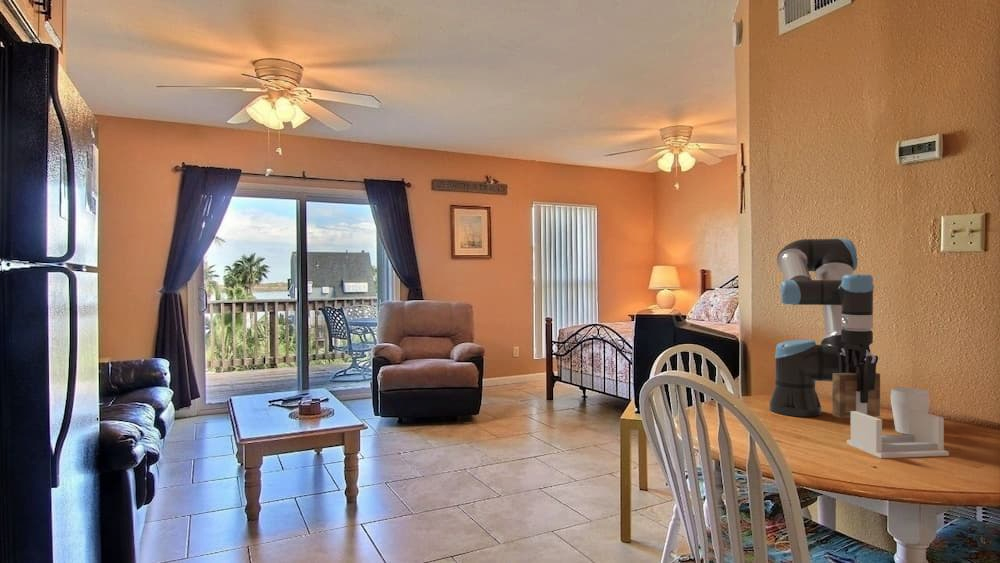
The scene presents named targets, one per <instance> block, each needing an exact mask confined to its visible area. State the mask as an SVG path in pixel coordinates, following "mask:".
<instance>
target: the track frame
mask: <svg viewBox="0 0 1000 563" xmlns="http://www.w3.org/2000/svg"><path fill="white" fill-rule="evenodd" d="M944 419H945V418H944V417H942V416H938V415H935V414H931V413H929V412H928V413H925V412H922V411H918V410H915V409H912V410H909V434H902V433H901V434H883V419H881V418H878V417H872V416H869V415H866V414H863V413H860V412H857V411H851V418H850V439H847V440H846V444H847V445H849V446H851V447H853V448H855V449H857V450H861V451H863V452H865V453H867V454H870V455H872V456H875V457H878V458H880V459H891V458H892V459H894V458H895V459H896V458H921V457H924V458H925V457H946V456H950V451H948V450H945V446H944V445H945V440H944V439H945V436H944V435H945V434H944V433H945V429H944V428H945V425H944V424H945V423H944V422H945V420H944Z"/></svg>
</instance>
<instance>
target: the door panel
mask: <svg viewBox="0 0 1000 563" xmlns="http://www.w3.org/2000/svg"><path fill="white" fill-rule="evenodd" d="M856 389H858V381H857V372H856V373H833V382H832V398H831V399H832V404H831V405H832V409H831V411H832V412H831V413H832V416H833V417H836V418H838V419H851V411H856ZM866 415H869V416H872V417H875V418H878V417H881V373H878V372H876V376H875V389H874V390H871V391H869V392H868V403H867V414H866Z"/></svg>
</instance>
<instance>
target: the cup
mask: <svg viewBox="0 0 1000 563" xmlns="http://www.w3.org/2000/svg"><path fill="white" fill-rule="evenodd" d="M890 403H891V404H890V405H891V410H892V411H891V412H892V417H893V423H894V424H893V425H894V429H895V432H897V433H899V434H901V435H902V434H909V410H912V409H915V410H918V411H922V412H925V413H929V411H930V405H931V401H930V392H929V391H928V390H925V389H921V388H914V387H900V386H899V387H891V390H890Z"/></svg>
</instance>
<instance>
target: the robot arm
mask: <svg viewBox="0 0 1000 563" xmlns="http://www.w3.org/2000/svg"><path fill="white" fill-rule="evenodd" d="M776 264H777V267H778V269H779V270H780V272H782V274H783V278H784V280H783V281H781V283H780V301H781V303H782V304H784V305H793V306H804V305H805V306H806V305H807V306H822V312H823V323H824V325H823V326H824V335H825V337H823V338H822V339H821V340H820V344H817V343H816V341H815V340H813V339H793V340H786V341H785V340H784V341H782V342H779V343H778V344H776V347H775V355H774V359H775V371H774V373H775V377H774V380H775V381H774V383H775V384H774V385H775V386H774V390H773V392H772V395H771V398H770V401H769V410H770V412H771V411H772V412H773V413H777V414H780V415H785V416H792V417H802V418H803V417H806V418H807V417H818V416H821V415H822V406H821V402H820V400H819V397H818V394H817V391H816V381H817V382H829V383H831V382H832V383H833V373H856V372H857V381H858V389H856V411H857V412H860V413H863V414H867V403H868V392H869V391H871V390H874V389H875V376H876V373H877V363H878V360H879V356H878V355H873V354H872V353H871V349H870V345H872V344H873V338H874V333H873V332H874V331H872V329H873V328H874V289H875V285H874V278H873V275H870V274H861V273H856V274H854V271H856V270H857V268H858V253H857V249H856V245H855V244H854V242H853V241H852V240H851V239H849V238H841V237H835V238H811V239H810V238H807V239H806V238H802V239H798V240H794V241H792V242H790V243H788V244H787V245H785V246H784V247H783V248H781V250H780V251H779V252H778V254H777V258H776ZM810 272H814V276H815V278H816V279H813V278H812V276H811V274H810Z"/></svg>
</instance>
